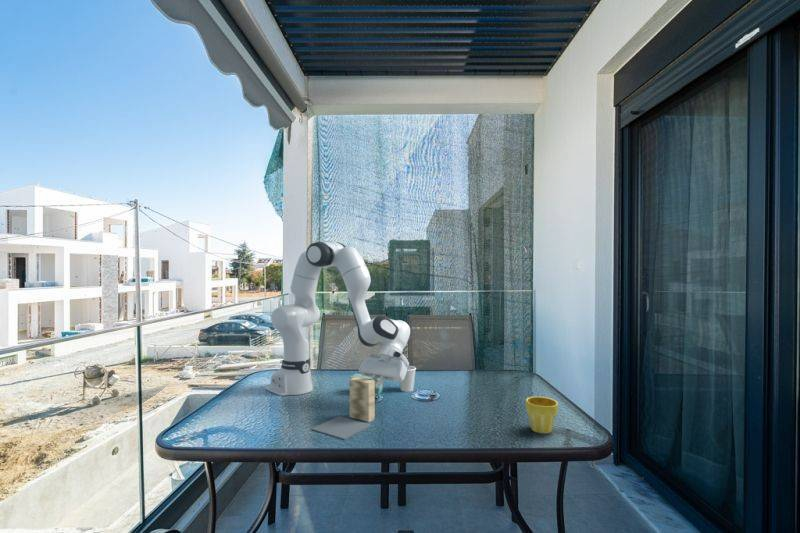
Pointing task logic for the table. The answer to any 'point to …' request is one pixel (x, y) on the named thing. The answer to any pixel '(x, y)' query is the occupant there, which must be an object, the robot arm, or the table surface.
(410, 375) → the dixie cup
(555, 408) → the plant pot
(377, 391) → the box
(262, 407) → the table surface
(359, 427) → the mat
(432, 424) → the table surface
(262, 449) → the table surface
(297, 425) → the table surface
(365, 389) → the oak slab
